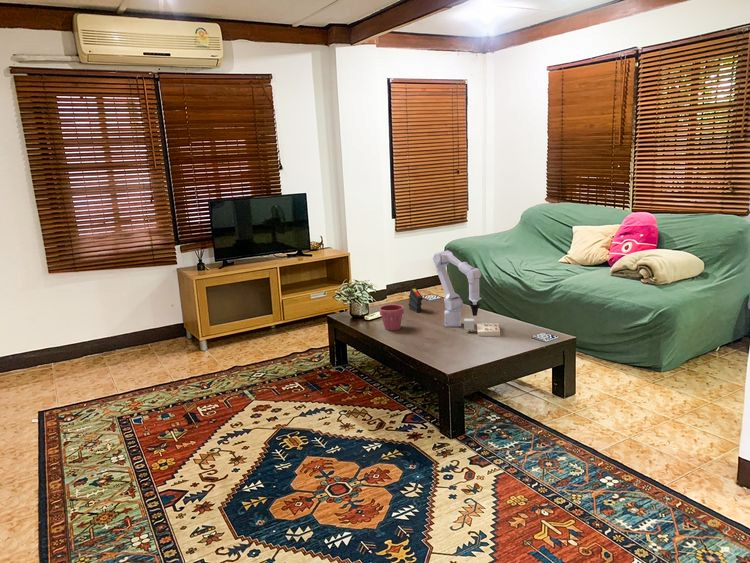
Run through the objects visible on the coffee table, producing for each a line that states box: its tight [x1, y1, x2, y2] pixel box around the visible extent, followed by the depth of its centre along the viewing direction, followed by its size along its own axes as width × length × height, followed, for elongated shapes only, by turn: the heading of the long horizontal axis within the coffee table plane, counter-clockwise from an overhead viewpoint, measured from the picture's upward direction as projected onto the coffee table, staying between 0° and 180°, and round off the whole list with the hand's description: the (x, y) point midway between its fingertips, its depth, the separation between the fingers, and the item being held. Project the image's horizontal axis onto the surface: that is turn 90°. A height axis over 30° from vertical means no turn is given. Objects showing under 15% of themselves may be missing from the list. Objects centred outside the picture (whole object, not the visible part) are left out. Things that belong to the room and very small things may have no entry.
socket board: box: [476, 322, 501, 337], centre depth 318 cm, size 12×15×3 cm
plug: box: [463, 318, 475, 333], centre depth 319 cm, size 6×4×7 cm
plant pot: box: [379, 304, 405, 331], centre depth 332 cm, size 14×14×13 cm
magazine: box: [408, 286, 424, 313], centre depth 366 cm, size 4×13×15 cm, turn 24°
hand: (474, 313), depth 319 cm, fingers open, 7 cm apart
